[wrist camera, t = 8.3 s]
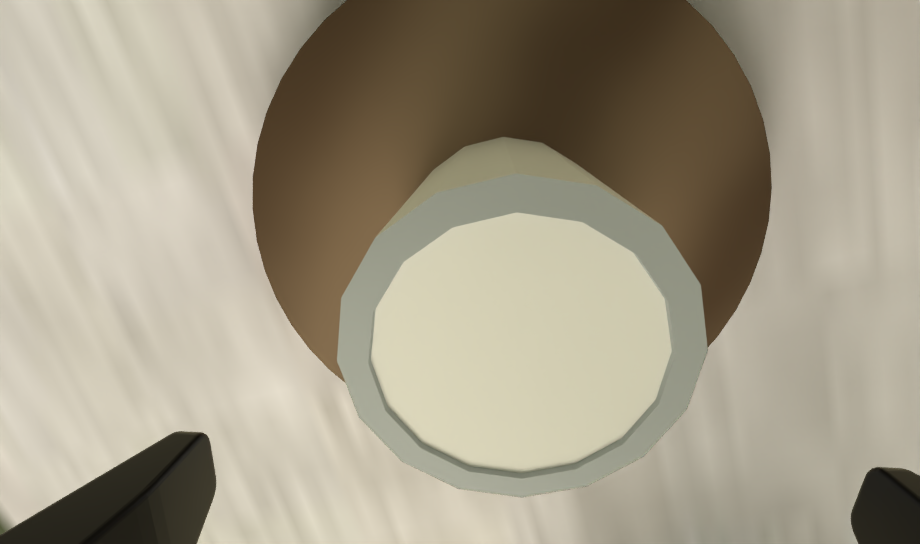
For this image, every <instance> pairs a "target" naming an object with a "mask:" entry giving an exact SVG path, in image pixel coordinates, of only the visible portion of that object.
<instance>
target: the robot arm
mask: <svg viewBox="0 0 920 544" xmlns="http://www.w3.org/2000/svg"><path fill="white" fill-rule="evenodd" d="M215 490H216V475H215V469H214V463H213V457H212V451H211V445H210V441H209V438H208V436H207V435H206V434H204V433H202V432H184V431H179V432H174V433H172V434H170V435H168V436H167V437H165V438H163V439H162V440H160V441H158V442H157V443H155V444H153V445H152V446H150V447H148V448H146V449H145V450H143V451H141V452H140V453H138V454H136V455H135V456H133V457H131V458H130V459H128V460H126V461H125V462H123V463H121V464H119V465H118V466H116V467H114V468H113V469H111V470H109V471H108V472H106V473H104V474H103V475H101V476H99V477H97V478H96V479H94V480H92V481H91V482H89V483H87V484H86V485H84V486H82V487H81V488H79V489H77V490H76V491H74V492H72V493H70V494H69V495H67V496H65V497H64V498H62V499H60V500H59V501H57V502H55V503H54V504H52V505H50V506H48V507H47V508H45V509H43V510H42V511H40V512H38V513H37V514H35V515H33V516H32V517H30V518H28V519H27V520H25V521H23V522H21V523H20V524H18V525H16V526H15V527H13V528H11V529H10V530H8V531H6V532H5V533H3V534H1V535H0V544H197V542H198V539H199V536H200V533H201V531H202V528H203V525H204V523H205V520H206V517H207V514H208V512H209V509H210V506H211V503H212V501H213V498H214V495H215ZM851 525H852V529H853V532H854V535H855V537H856V539H857V541H858V544H920V476H919V475H917V474H915V473H913V472H911V471H909V470H906V469H902V468H885V467H876V468H872V469H871V470H870V471H869V472H868V473H867V474H866V476H865V479H864V481H863V484H862V486H861V489H860V491H859V494H858V496H857V499H856V502H855V504H854V507H853V509H852V513H851Z"/></svg>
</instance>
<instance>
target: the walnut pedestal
mask: <svg viewBox="0 0 920 544" xmlns="http://www.w3.org/2000/svg"><path fill="white" fill-rule="evenodd" d="M500 137H508V138H514V139H521V140H528V141H534V142H541V143H544V144H545V145H547V146H549V147H550V148H552V149H553V150H555V151H557V152H558V153H560V154H561V155H563V156H565V157H566V158H568V159H570V160H571V161H573V162H574V163H576V164H577V165H579V166H580V167H581V168H583V169H584V170H586V171H587V172H588V173H590V174H591V175H593V176H594V177H595V178H597V179H598V180H599V181H601V182H602V183H604V184H605V185H606V186H608V187H609V188H611V189H612V190H613V191H615V192H616V193H618V194H619V195H620V196H622V197H623V198H624V199H626V200H627V201H629V202H630V203H631V204H633V205H634V206H636V207H637V208H638V209H640V210H641V211H642V212H644V213H645V214H647V215H648V216H649V217H651V218H652V219H654V220H655V221H656V222H658V223H659V224H661V225H662V226H663V228H664V229H665V231H666V232H667V234H668V235H669V237H670V238H671V240H672V241H673V243H674V244H675V246H676V248H677V249H678V251H679V252H680V254H681V255H682V257H683V258H684V260H685V261H686V263H687V264H688V266H689V267H690V269H691V271H692V272H693V274H694V275H695V277H696V278H697V280H698V281H699V283H700V284H701V291H702V301H703V310H704V319H705V328H706V338H707V347H708V346H709V345H710V344H711V343H712V342H713V341H714V340H715V339H716V338H717V336H718V335H719V333H720V332H721V331H722V329H723V328H724V326H725V325H726V323H727V322H728V321H729V319H730V318H731V316H732V315H733V313H734V312H735V310H736V309H737V307H738V305H739V303H740V301H741V299H742V297H743V295H744V293H745V292H746V290H747V288H748V286H749V284H750V282H751V279H752V276H753V274H754V271H755V268H756V266H757V263H758V260H759V258H760V255H761V252H762V247H763V243H764V239H765V234H766V230H767V226H768V221H769V211H770V200H771V189H772V187H771V167H770V152H769V147H768V142H767V137H766V132H765V127H764V122H763V118H762V116H761V113H760V110H759V107H758V104H757V102H756V99H755V96H754V93H753V90H752V88H751V85H750V84H749V82H748V80H747V78H746V76H745V74H744V72H743V71H742V69H741V67H740V65H739V63H738V61H737V59H736V58H735V56H734V54H733V53H732V51H731V50H730V49H729V47H728V46H727V45H726V44H725V42H724V41H723V40H722V38H721V37H720V36H719V34H718V33H717V32H716V30H715V29H714V28H713V26H712V25H711V24H710V23H709V22H708V21H707V20H706V19H705V18H704V17H703V16H702V15H701V14H700V13H699V12H698V11H697V10H696V9H694V8H693V7H692V6H691V5H690V4H689V3H688V2H687V1H686V0H347V1H346V2H345V3H344V4H342V5H341V6H340V7H339V8H338V9H337V10H336V11H334V12H333V13H332V14H331V15H330V16H329V17H328V18H327V19H325V20H324V22H323V23H322V24H321V25H320V26H319V27H318V29H317V30H316V31H315V32H314V33H313V34H312V36H311V37H310V38H309V39H308V40H307V42H306V43H305V44H304V45H303V46H302V47H301V49H300V50H299V52H298V53H297V55H296V57H295V58H294V60H293V61H292V63H291V65H290V66H289V68H288V69H287V71H286V73H285V74H284V76H283V77H282V79H281V81H280V83H279V86H278V88H277V90H276V92H275V95H274V97H273V99H272V101H271V104H270V106H269V108H268V110H267V113H266V117H265V120H264V124H263V127H262V131H261V134H260V138H259V141H258V145H257V152H256V159H255V166H254V173H253V214H254V222H255V229H256V237H257V243H258V246H259V250H260V254H261V258H262V261H263V265H264V269H265V272H266V274H267V277H268V279H269V281H270V284H271V286H272V289H273V291H274V294H275V296H276V298H277V300H278V302H279V304H280V305H281V307H282V309H283V311H284V313H285V314H286V316H287V318H288V320H289V321H290V323H291V325H292V326H293V327H294V329H295V330H296V331H297V333H298V334H299V335H300V337H301V338H302V339H303V341H304V342H305V343H306V345H307V346H308V348H309V349H310V350H311V351H312V352H313V353H314V354H315V355H316V356H317V357H318V358H319V359H320V360H321V361H322V362H323V363H324V364H325V365H326V367H327V368H328V369H329V370H331V371H332V372H333V373H334V374H335V375H337V376H338V377H339V378H340V379H341V380H343V381H344V382H345V380H344V378H343V375H342V372H341V370H340V367H339V365H338V362H337V353H338V338H339V323H340V308H341V297H342V295H343V294H344V292H345V290H346V288H347V287H348V285H349V283H350V281H351V280H352V278H353V276H354V274H355V272H356V271H357V269H358V267H359V265H360V264H361V262H362V260H363V258H364V257H365V255H366V253H367V251H368V249H369V248H370V246H371V244H372V242H373V241H374V239H375V237H376V236H377V235H378V234H379V233H380V231H381V230H382V229H383V228H384V227H385V226H386V224H387V223H388V222H389V221H390V220H391V219H392V217H393V216H394V215H395V214H396V213H397V212H398V210H399V209H400V208H401V207H402V206H403V205H404V203H405V202H406V201H407V200H408V199H409V198H410V196H411V195H412V194H413V193H414V192H415V191H416V189H417V188H418V187H419V186H420V185H421V184H422V183H423V181H424V180H425V179H426V178H427V177H428V176H429V174H430V173H431V172H432V171H433V170H434V169H435V168H436V167H438V166H439V165H440V164H442V163H443V162H444V161H446V160H447V159H449V158H450V157H451V156H453V155H454V154H455V153H457V152H458V151H459V150H461V149H462V148H463V147H465V146H469V145H473V144H477V143H481V142H485V141H489V140H493V139H496V138H500Z"/></svg>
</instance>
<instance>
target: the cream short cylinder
mask: <svg viewBox="0 0 920 544" xmlns="http://www.w3.org/2000/svg"><path fill="white" fill-rule="evenodd" d="M707 351H708V347H707V338H706V328H705V319H704V310H703V301H702V291H701V284H700V283H699V281H698V280H697V278H696V277H695V275H694V274H693V272H692V271H691V269H690V267H689V266H688V264H687V263H686V261H685V260H684V258H683V257H682V255H681V254H680V252H679V251H678V249H677V248H676V246H675V244H674V243H673V241H672V240H671V238H670V237H669V235H668V234H667V232H666V231H665V229H664V228H663V226H662V225H661V224H659V223H658V222H656V221H655V220H654V219H652V218H651V217H649V216H648V215H647V214H645V213H644V212H642V211H641V210H640V209H638V208H637V207H636V206H634V205H633V204H631V203H630V202H629V201H627V200H626V199H624V198H623V197H622V196H620V195H619V194H618V193H616V192H615V191H613V190H612V189H611V188H609V187H608V186H606V185H605V184H604V183H602V182H601V181H599V180H598V179H597V178H595V177H594V176H593V175H591V174H590V173H588V172H587V171H586V170H584V169H583V168H581V167H580V166H579V165H577V164H576V163H574V162H573V161H571V160H570V159H568V158H566V157H565V156H563V155H561V154H560V153H558V152H557V151H555V150H553V149H552V148H550V147H549V146H547V145H545V144H544V143H541V142H534V141H528V140H521V139H514V138H508V137H500V138H496V139H493V140H489V141H485V142H481V143H477V144H473V145H469V146H465V147H463V148H462V149H461V150H459V151H458V152H457V153H455V154H454V155H453V156H451V157H450V158H449V159H447V160H446V161H444V162H443V163H442V164H440V165H439V166H438V167H436V168H435V169H434V170H433V171H432V172H431V173H430V174H429V176H428V177H427V178H426V179H425V180H424V181H423V183H422V184H421V185H420V186H419V187H418V188H417V189H416V191H415V192H414V193H413V194H412V195H411V196H410V198H409V199H408V200H407V201H406V202H405V203H404V205H403V206H402V207H401V208H400V209H399V210H398V212H397V213H396V214H395V215H394V216H393V217H392V219H391V220H390V221H389V222H388V223H387V224H386V226H385V227H384V228H383V229H382V230H381V231H380V233H379V234H378V235H377V236H376V237H375V239H374V241H373V242H372V244H371V246H370V248H369V249H368V251H367V253H366V255H365V257H364V258H363V260H362V262H361V264H360V265H359V267H358V269H357V271H356V272H355V274H354V276H353V278H352V280H351V281H350V283H349V285H348V287H347V288H346V290H345V292H344V294H343V295H342V297H341V308H340V323H339V338H338V353H337V362H338V365H339V367H340V370H341V372H342V375H343V378H344V380H345V383H346V385H347V388H348V390H349V393H350V395H351V398H352V401H353V403H354V406H355V408H356V411H357V413H358V416H359V418H360V419H361V420H362V421H363V422H364V423H365V424H366V425H367V426H368V427H369V428H370V429H371V430H372V431H373V432H374V433H375V434H376V435H377V436H378V437H379V439H380V440H381V441H382V442H383V443H384V444H385V445H386V446H387V447H388V448H389V449H390V450H391V451H392V452H393V453H394V454H395V455H396V456H397V457H398V458H399V459H400V460H401V461H402V462H404V463H406V464H408V465H410V466H412V467H414V468H416V469H418V470H420V471H422V472H425V473H427V474H429V475H431V476H433V477H435V478H437V479H439V480H441V481H443V482H445V483H447V484H449V485H451V486H453V487H456V488H458V489H463V490H470V491H478V492H485V493H493V494H500V495H507V496H515V497H528V496H534V495H539V494H545V493H551V492H557V491H563V490H569V489H575V488H581V487H586V486H588V485H590V484H592V483H594V482H596V481H598V480H600V479H601V478H603V477H605V476H607V475H609V474H611V473H613V472H615V471H617V470H619V469H621V468H623V467H624V466H626V465H628V464H630V463H632V462H634V461H636V460H638V459H640V458H642V457H643V456H644V455H645V454H646V453H647V452H648V451H649V450H650V449H651V448H652V447H653V445H654V444H655V443H656V442H657V441H658V440H659V439H660V438H661V437H662V436H663V435H664V434H665V432H666V431H667V430H668V429H669V428H670V427H671V426H672V425H673V424H674V423H675V422H676V421H677V419H678V418H679V417H680V416H681V415H682V414H683V413H684V412H685V411H686V409H687V407H688V404H689V401H690V398H691V395H692V393H693V390H694V387H695V384H696V382H697V379H698V376H699V373H700V370H701V368H702V365H703V362H704V359H705V356H706V354H707Z"/></svg>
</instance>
